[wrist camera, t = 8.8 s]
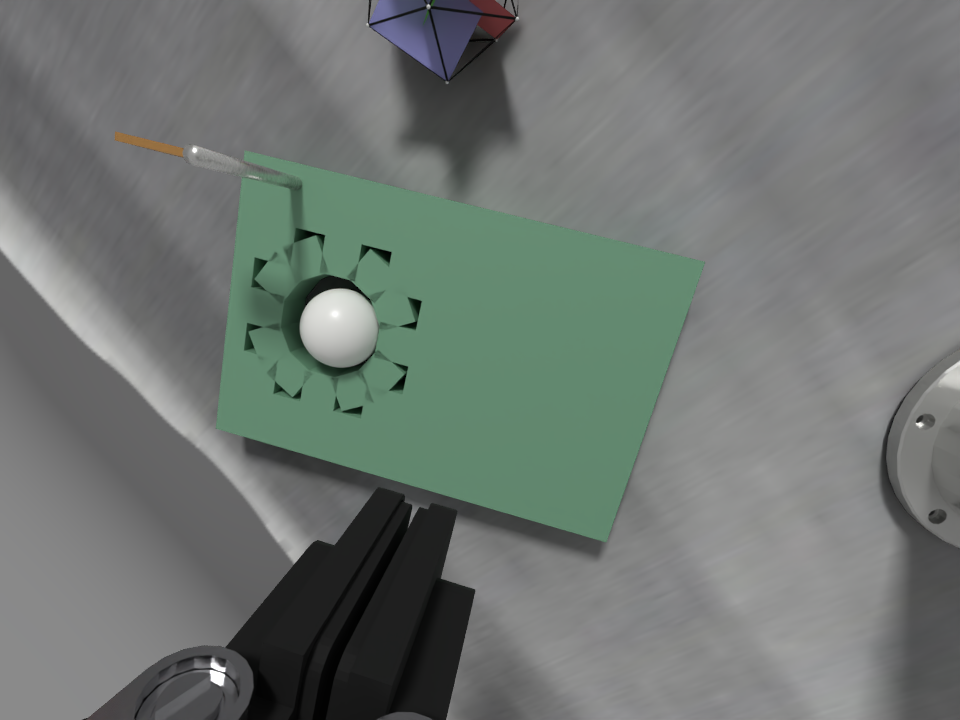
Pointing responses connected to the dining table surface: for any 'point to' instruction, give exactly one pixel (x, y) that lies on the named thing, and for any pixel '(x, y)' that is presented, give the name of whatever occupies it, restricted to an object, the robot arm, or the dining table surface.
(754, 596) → the dining table surface
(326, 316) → the ball
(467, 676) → the dining table surface
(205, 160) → the flag pin
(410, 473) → the green flat slab
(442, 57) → the geometric puzzle
